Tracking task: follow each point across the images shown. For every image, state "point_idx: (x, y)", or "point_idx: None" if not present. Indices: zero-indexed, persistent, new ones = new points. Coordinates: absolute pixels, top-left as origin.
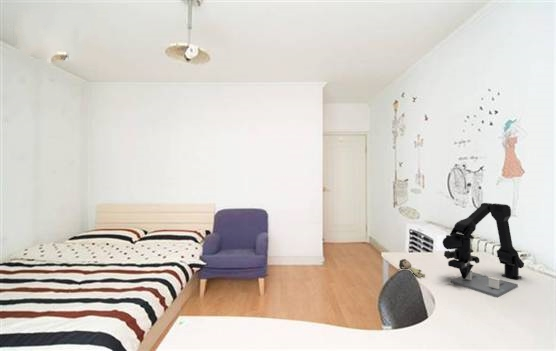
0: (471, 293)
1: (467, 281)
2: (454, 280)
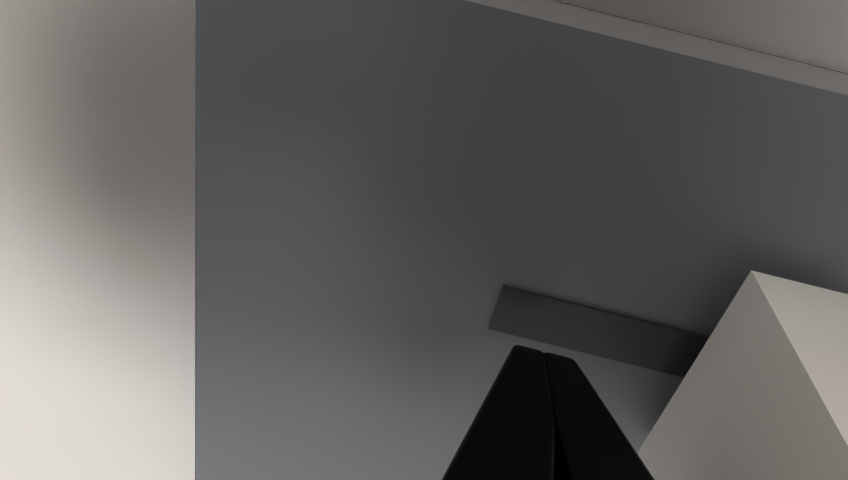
0: (10, 433)
1: None
2: (287, 83)
